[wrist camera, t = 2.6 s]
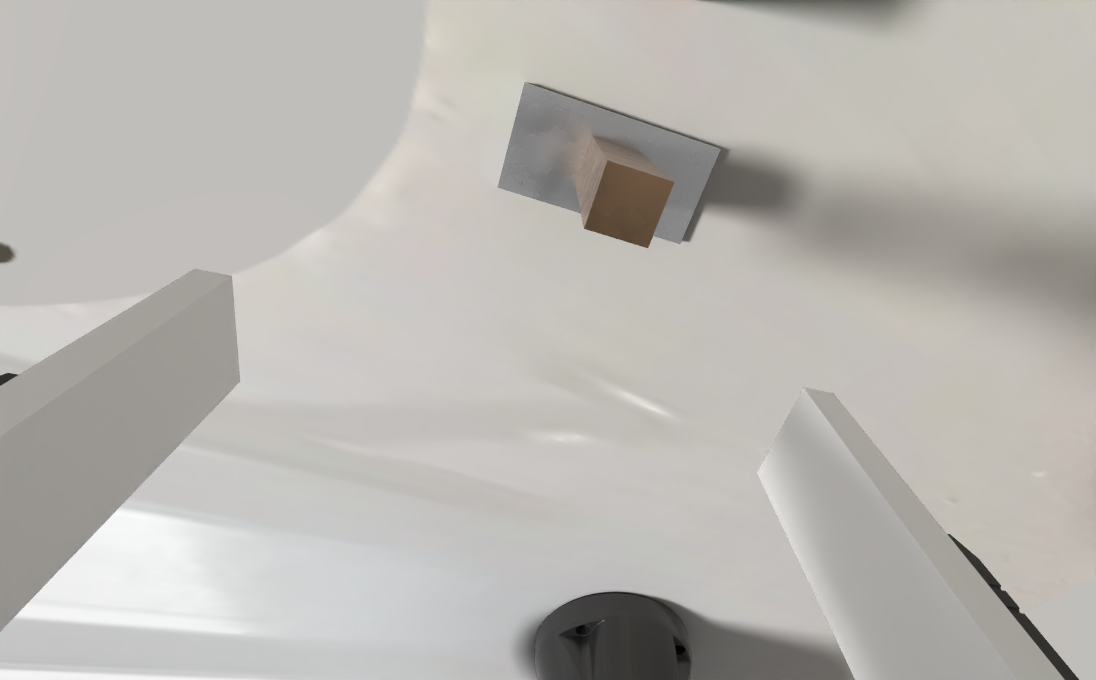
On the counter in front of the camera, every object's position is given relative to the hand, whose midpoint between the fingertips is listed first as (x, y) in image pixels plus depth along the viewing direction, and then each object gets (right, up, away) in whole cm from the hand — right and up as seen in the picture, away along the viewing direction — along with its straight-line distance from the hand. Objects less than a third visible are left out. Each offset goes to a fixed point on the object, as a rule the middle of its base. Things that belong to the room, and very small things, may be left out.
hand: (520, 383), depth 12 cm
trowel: (+4, +12, +20) cm, 24 cm away
